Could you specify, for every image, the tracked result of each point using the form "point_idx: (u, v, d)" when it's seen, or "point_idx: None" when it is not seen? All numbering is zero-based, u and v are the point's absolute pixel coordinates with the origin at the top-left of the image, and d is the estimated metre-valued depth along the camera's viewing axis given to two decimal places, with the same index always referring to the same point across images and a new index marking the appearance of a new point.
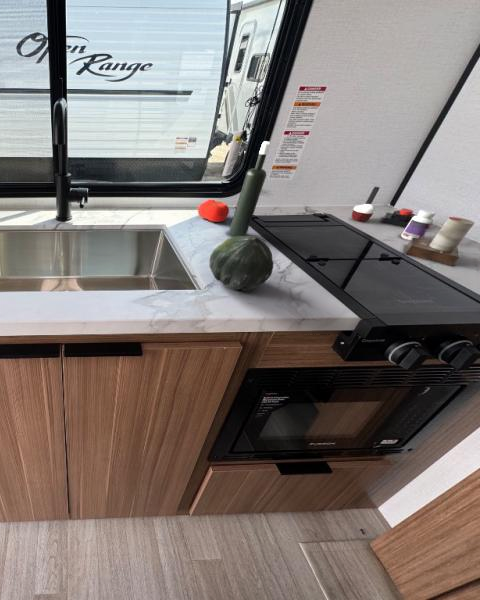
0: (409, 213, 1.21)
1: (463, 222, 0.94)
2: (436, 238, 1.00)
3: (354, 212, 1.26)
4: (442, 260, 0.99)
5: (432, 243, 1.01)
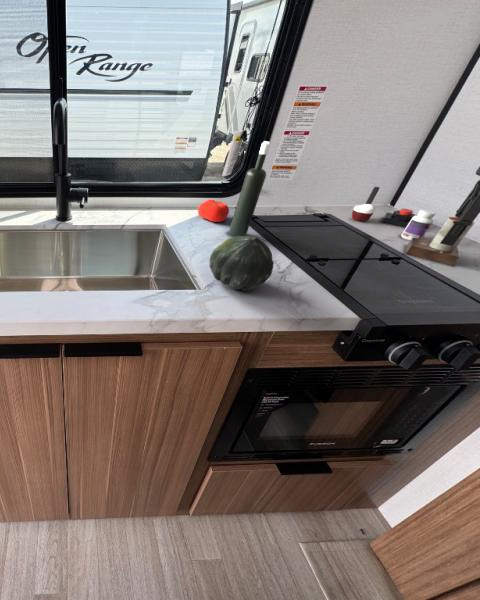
0: (409, 213, 1.21)
1: None
2: (436, 238, 1.00)
3: (354, 212, 1.26)
4: (442, 260, 0.99)
5: (432, 243, 1.01)
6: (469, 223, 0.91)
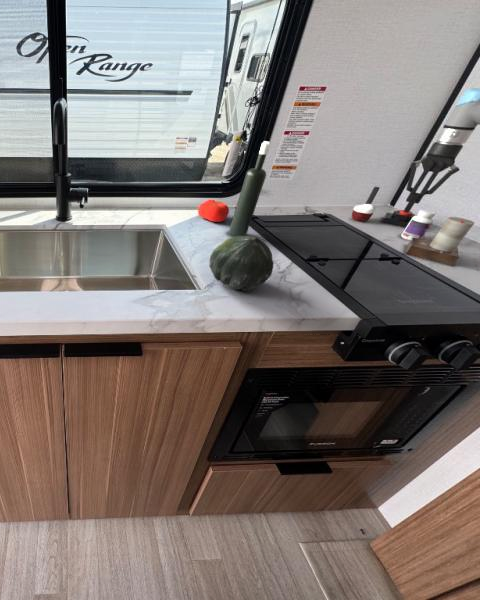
0: (408, 214, 1.22)
1: (469, 221, 0.95)
2: (452, 243, 0.97)
3: (354, 212, 1.26)
4: (442, 260, 0.99)
5: (448, 248, 0.98)
6: None
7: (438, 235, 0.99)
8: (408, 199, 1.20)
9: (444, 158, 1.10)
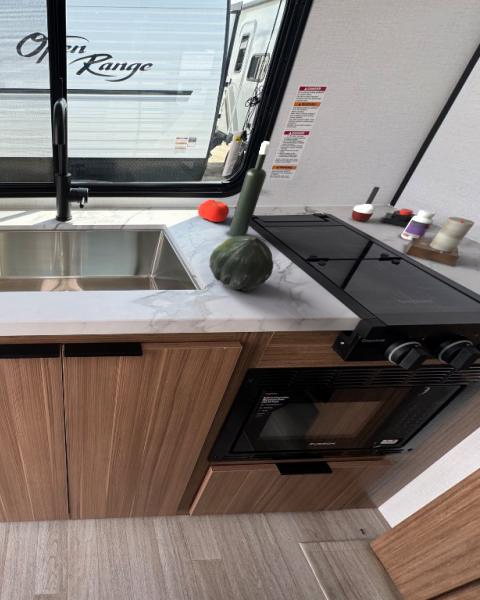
0: (409, 213, 1.21)
1: (469, 221, 0.95)
2: (452, 243, 0.97)
3: (354, 212, 1.26)
4: (442, 260, 0.99)
5: (448, 248, 0.98)
6: None
7: (438, 235, 0.99)
8: None
9: None
